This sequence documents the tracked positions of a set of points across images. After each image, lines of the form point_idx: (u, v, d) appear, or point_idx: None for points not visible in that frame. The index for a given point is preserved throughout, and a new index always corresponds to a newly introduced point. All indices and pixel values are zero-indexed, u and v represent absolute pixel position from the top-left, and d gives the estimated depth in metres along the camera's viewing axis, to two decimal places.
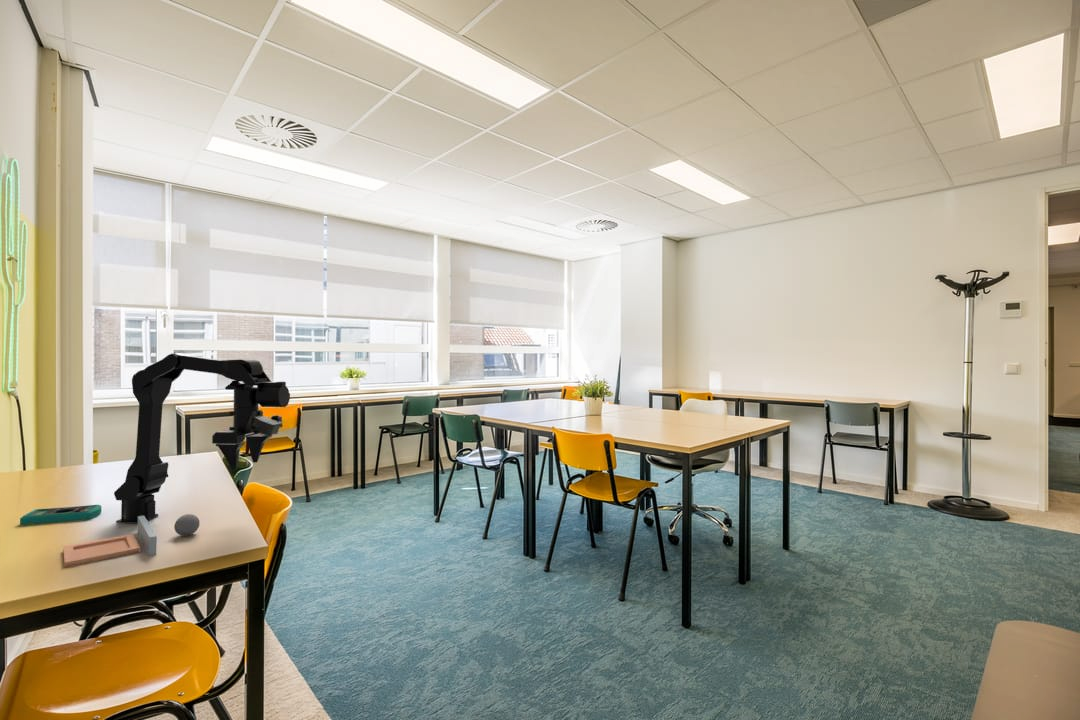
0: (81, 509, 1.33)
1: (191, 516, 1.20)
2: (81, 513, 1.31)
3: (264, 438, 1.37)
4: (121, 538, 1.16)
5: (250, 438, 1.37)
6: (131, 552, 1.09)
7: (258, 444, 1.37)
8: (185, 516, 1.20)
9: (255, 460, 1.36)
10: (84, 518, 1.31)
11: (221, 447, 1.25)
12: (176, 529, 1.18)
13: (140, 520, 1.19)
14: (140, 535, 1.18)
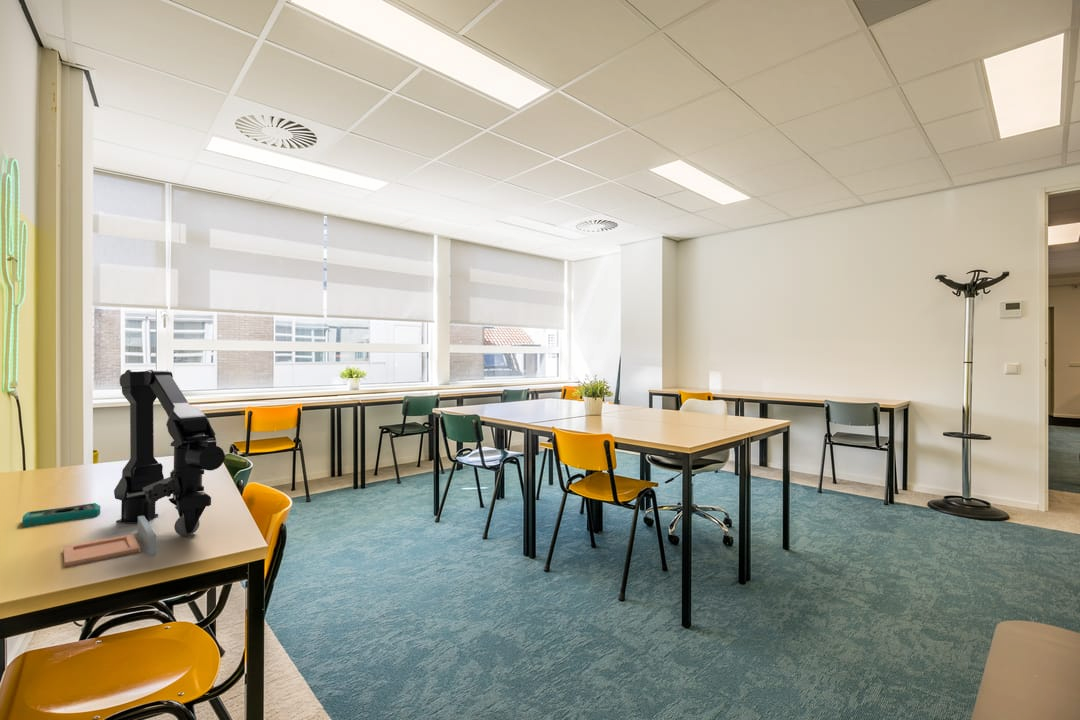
0: (82, 508, 1.34)
1: None
2: (88, 510, 1.33)
3: None
4: (121, 538, 1.16)
5: None
6: (131, 552, 1.09)
7: None
8: None
9: None
10: (91, 515, 1.33)
11: None
12: (176, 529, 1.18)
13: (140, 520, 1.19)
14: (140, 535, 1.18)
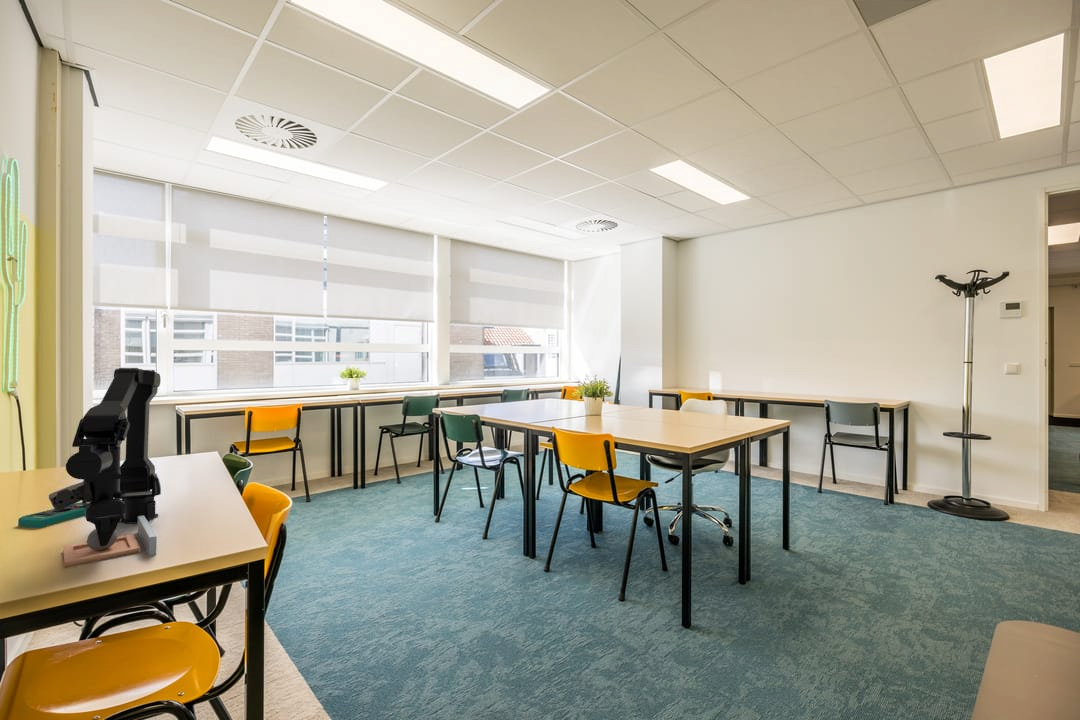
0: (78, 506, 1.36)
1: None
2: None
3: None
4: (121, 538, 1.16)
5: None
6: (131, 552, 1.09)
7: None
8: None
9: None
10: None
11: None
12: (88, 543, 1.08)
13: (140, 520, 1.19)
14: (140, 535, 1.18)
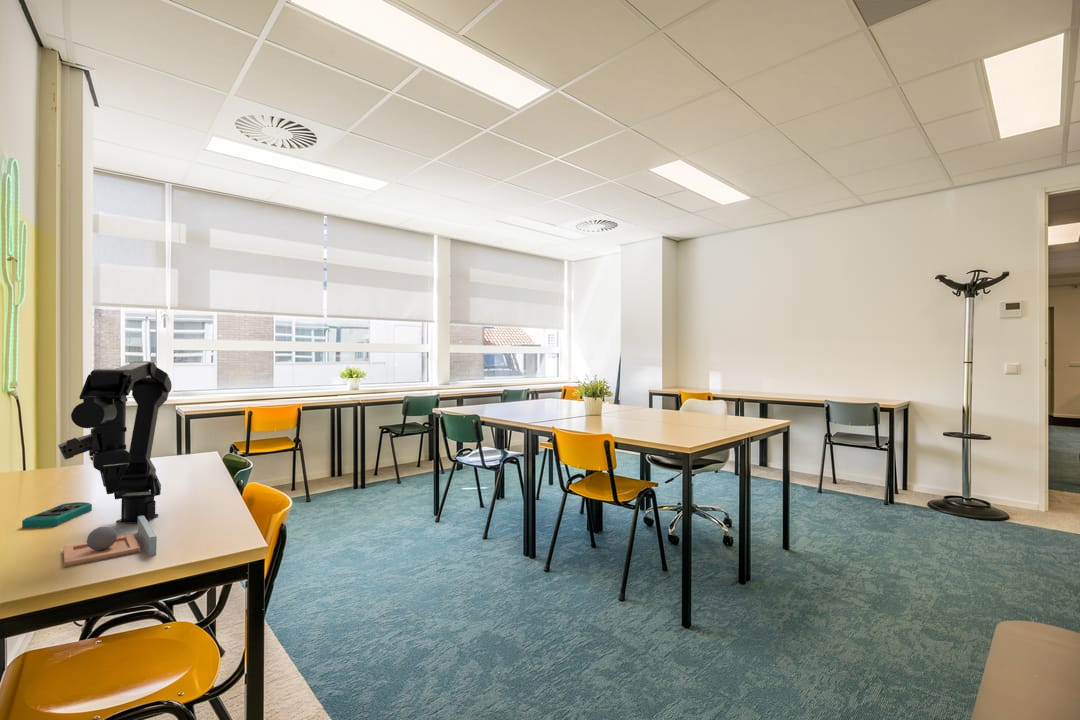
0: (71, 506, 1.36)
1: (106, 528, 1.10)
2: (87, 505, 1.38)
3: None
4: (121, 538, 1.16)
5: None
6: (131, 552, 1.09)
7: None
8: (99, 528, 1.09)
9: None
10: (89, 509, 1.38)
11: None
12: (88, 543, 1.08)
13: (140, 520, 1.19)
14: (140, 535, 1.18)
